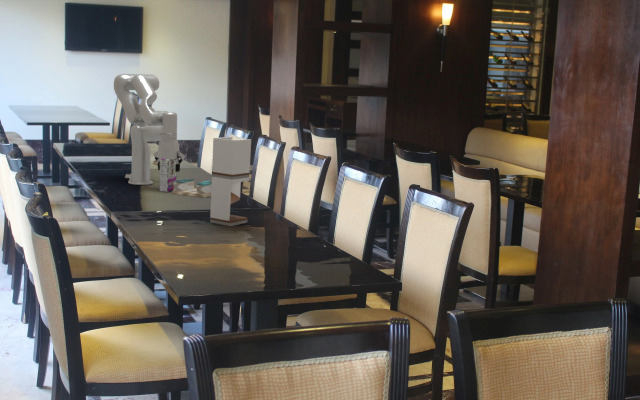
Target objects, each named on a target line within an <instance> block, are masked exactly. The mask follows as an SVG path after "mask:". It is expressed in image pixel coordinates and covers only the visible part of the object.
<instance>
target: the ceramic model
mask: <svg viewBox="0 0 640 400" xmlns="http://www.w3.org/2000/svg"><path fill="white" fill-rule="evenodd" d="M157 156H158V154H157ZM152 165H154V166H157V167H158V162H157V161H156V159H155V158H154V160H153V162H152Z"/></svg>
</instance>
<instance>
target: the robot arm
mask: <svg viewBox="0 0 640 400" xmlns="http://www.w3.org/2000/svg"><path fill="white" fill-rule="evenodd" d="M159 88H160V79H159V78H158V77H157V76H156V75H155V74H145V73H140V74H138V73H136V74H135V73H122V74H121V73H120V74H118V75H116V76H115V77H114V80H113V90H114V94H115V95H116V97H117V99H118V101H119V102H120V104H121V106H122V108H123V111H124V114H125V115H126V116H125V117H126V118H127V121H128V122H129V124H132V126H131V127H130V130H129V131H130V132H129V133H130V140H131V173H126V174H125V176H124V178H125V179H129V180H128V184H129V185H134V186H135V185H137V186H147V185H153V183H154V182H153V181H152V180H151V148H150V146H149V143H148V142H159V143H158V148H157V151H155V152H154V153H152V154H153V157H154V160H155V159H156V161H157V162H158V166H157V170H158V171H159V172H160V159H170V160H175V162H176V164H175V172H176V173H179V172H180V171H181V164H182V162H184V159H185V157H186V155H185V154H183V153H182V152H181V151H180V145H179V139H178V114H177V112H174V111H167V110H155V108H153V107H152V106H150V105H152V104H154V103H155V102H156V100H157V98H158V96H157V95H158V93H156V91H157V90H158V89H159ZM131 91H135V92H136V95H137V96H138V98H139V100H140V103H139V101H138V99H137V97H136V96H135V94H134V93H132V92H131ZM157 154H158V156H157Z"/></svg>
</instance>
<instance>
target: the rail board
mask: <svg viewBox="0 0 640 400" xmlns="http://www.w3.org/2000/svg"><path fill="white" fill-rule="evenodd" d="M211 186H212V180H204V181H201V182H197V183H196V187H195V178H190V177H189V178H187V177H184V178H180V179H176V180H175V181H174V190H172V191H171V195H178V196H180V195H181V196H187V197H195V198H204V199H205V198H209V197H211Z"/></svg>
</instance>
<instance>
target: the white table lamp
mask: <svg viewBox="0 0 640 400" xmlns="http://www.w3.org/2000/svg"><path fill="white" fill-rule="evenodd" d="M251 147H252V139H251V138H248V139H246V138H245V139H233V136H227V137H223V136H221V137H213V138H212V159H211V160H212V164H211V166H212V167H211V181H212V186H211V196H210V211H209V212H210V213H209V214H210V215H209V216H210V218H209V223H212V224H217V225H221V226H222V225H223V226H229V227H232V226H233V227H234V226H236V225H241V224H246V223H248V217H247V216H246V217H245V216H241V215H234V214H231V205H232V204H234V203H237V202H238V201H240V199H241V186H242V185H241V183H242V182H249V181H250V171H251V170H250V169H251V151H252V150H251V149H252V148H251Z"/></svg>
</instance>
